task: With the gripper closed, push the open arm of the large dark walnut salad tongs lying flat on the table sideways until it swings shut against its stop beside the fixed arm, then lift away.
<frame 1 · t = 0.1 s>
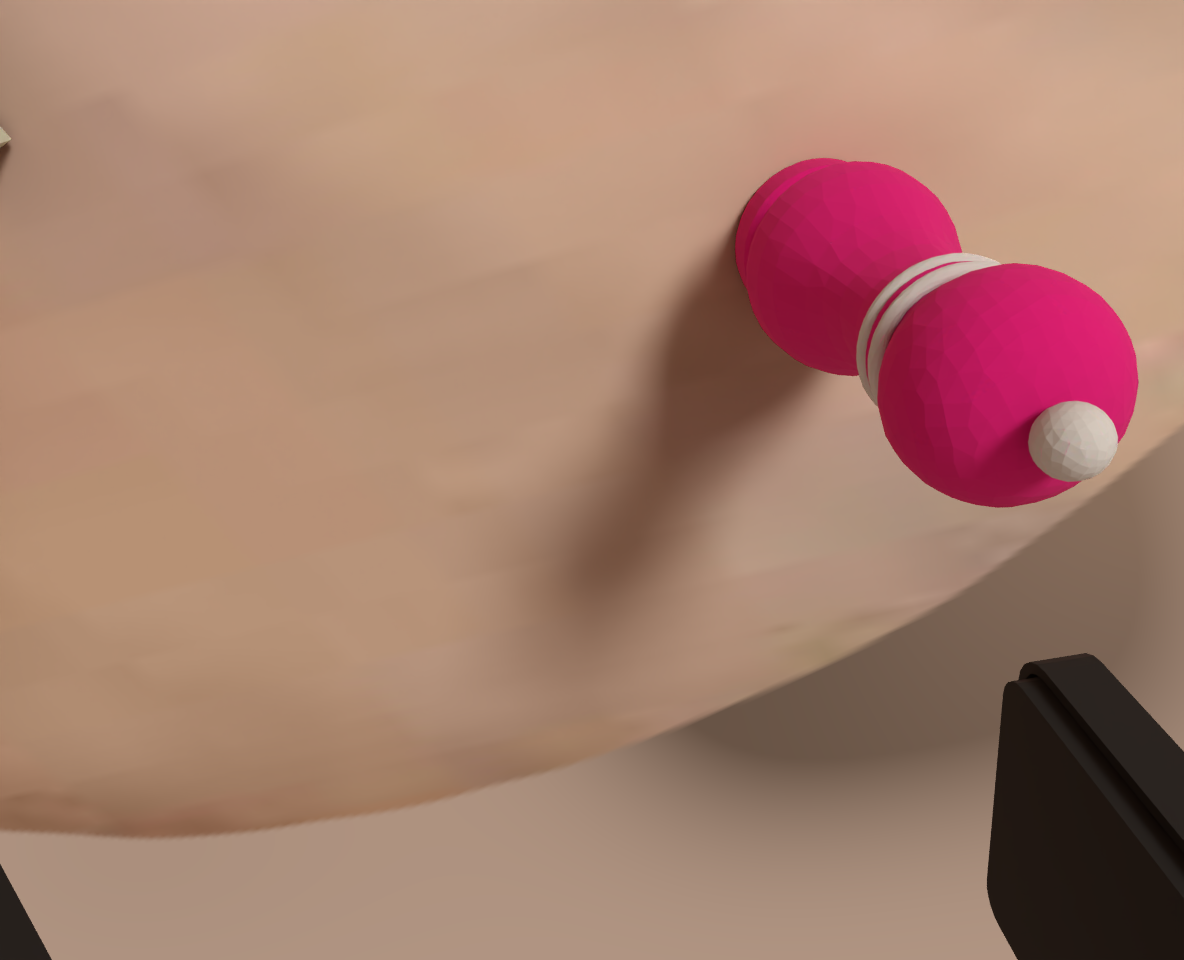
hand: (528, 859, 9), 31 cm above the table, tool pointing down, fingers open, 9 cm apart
pepper mill: (811, 239, 39), on the table
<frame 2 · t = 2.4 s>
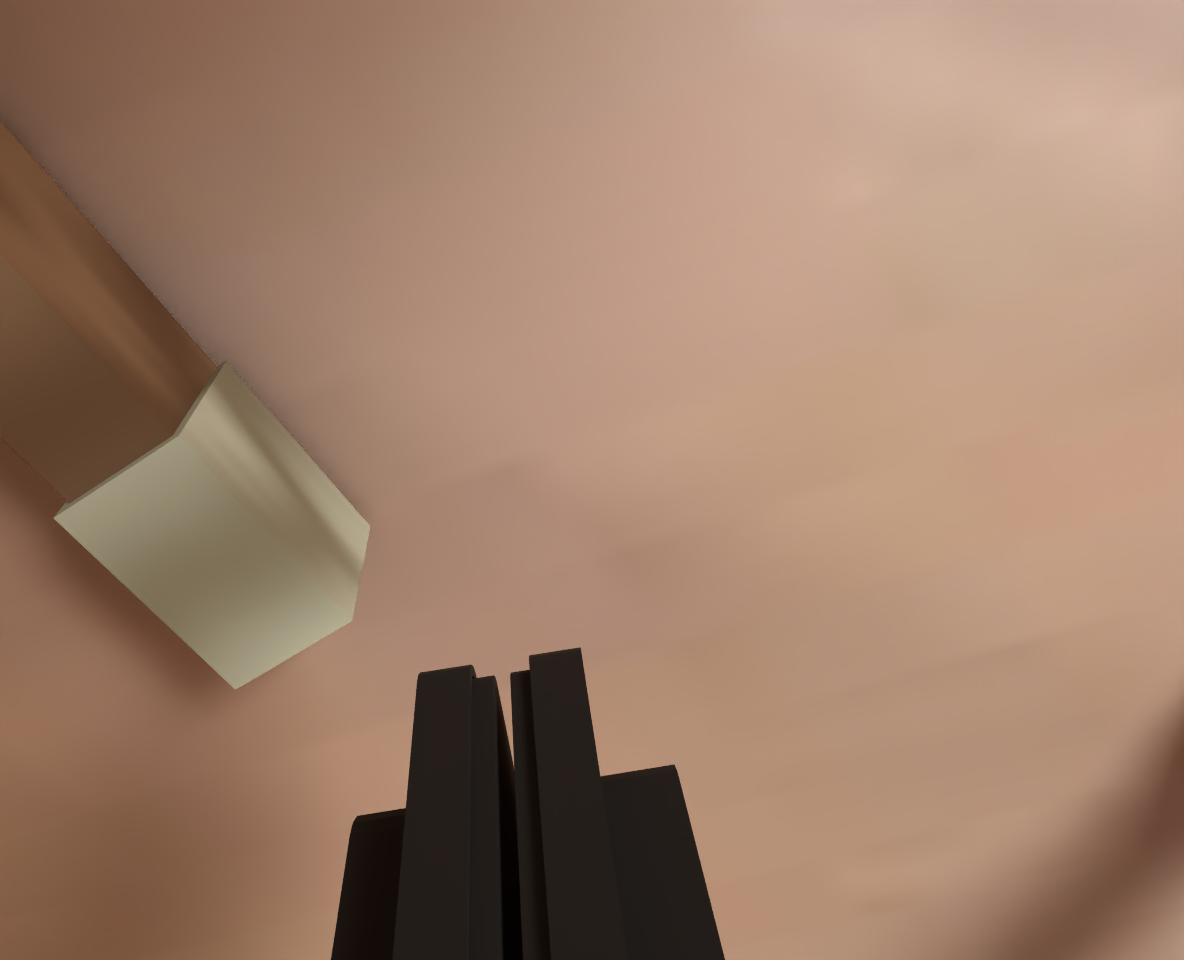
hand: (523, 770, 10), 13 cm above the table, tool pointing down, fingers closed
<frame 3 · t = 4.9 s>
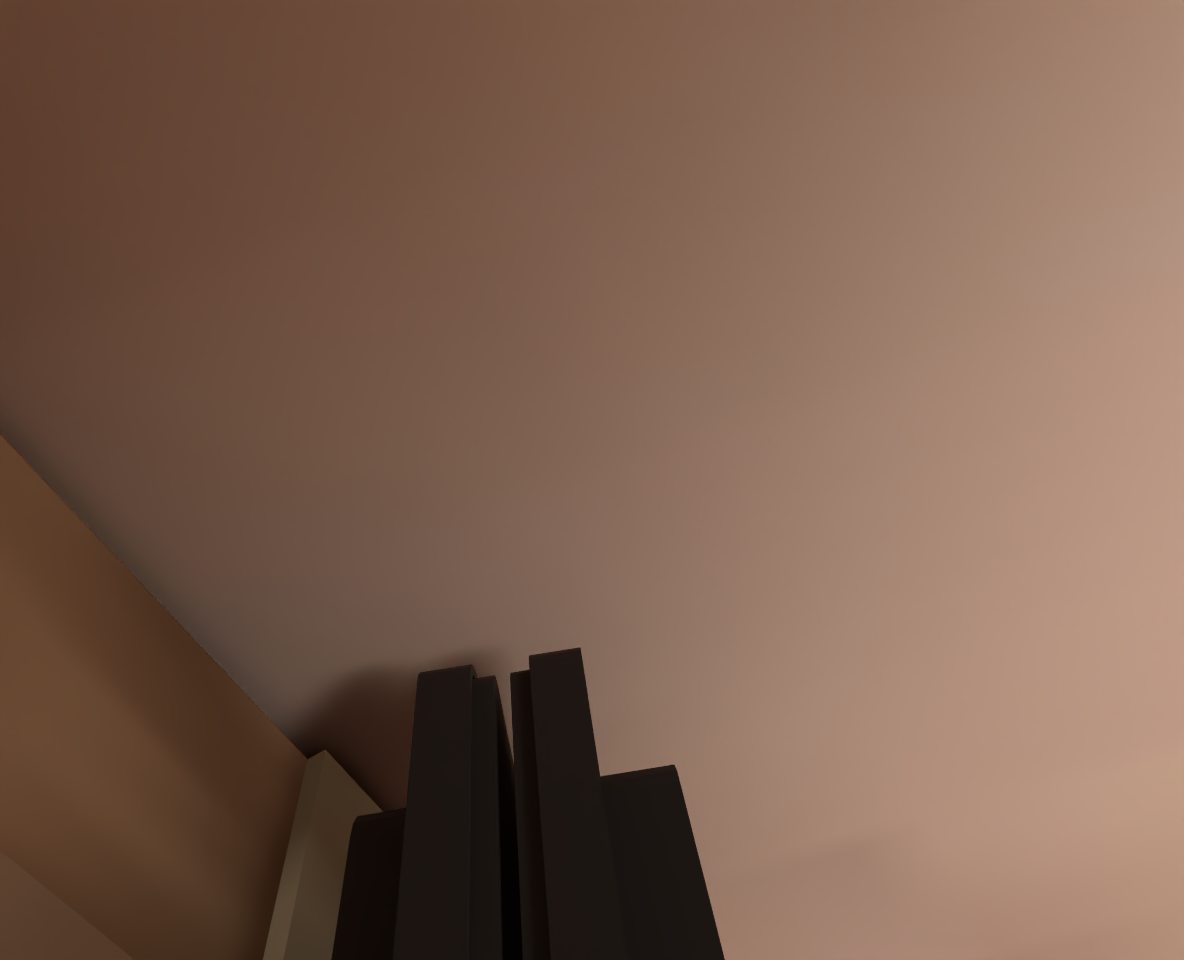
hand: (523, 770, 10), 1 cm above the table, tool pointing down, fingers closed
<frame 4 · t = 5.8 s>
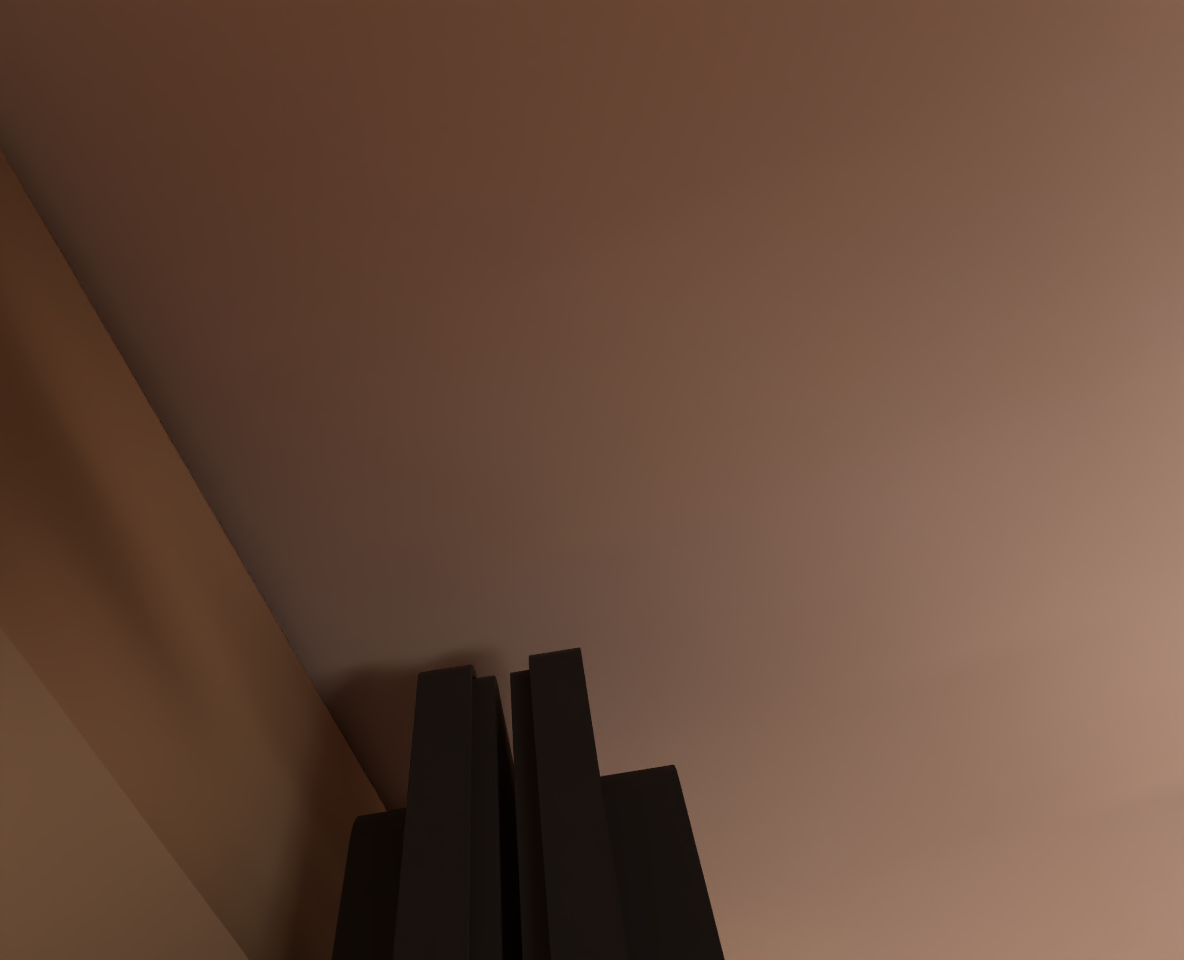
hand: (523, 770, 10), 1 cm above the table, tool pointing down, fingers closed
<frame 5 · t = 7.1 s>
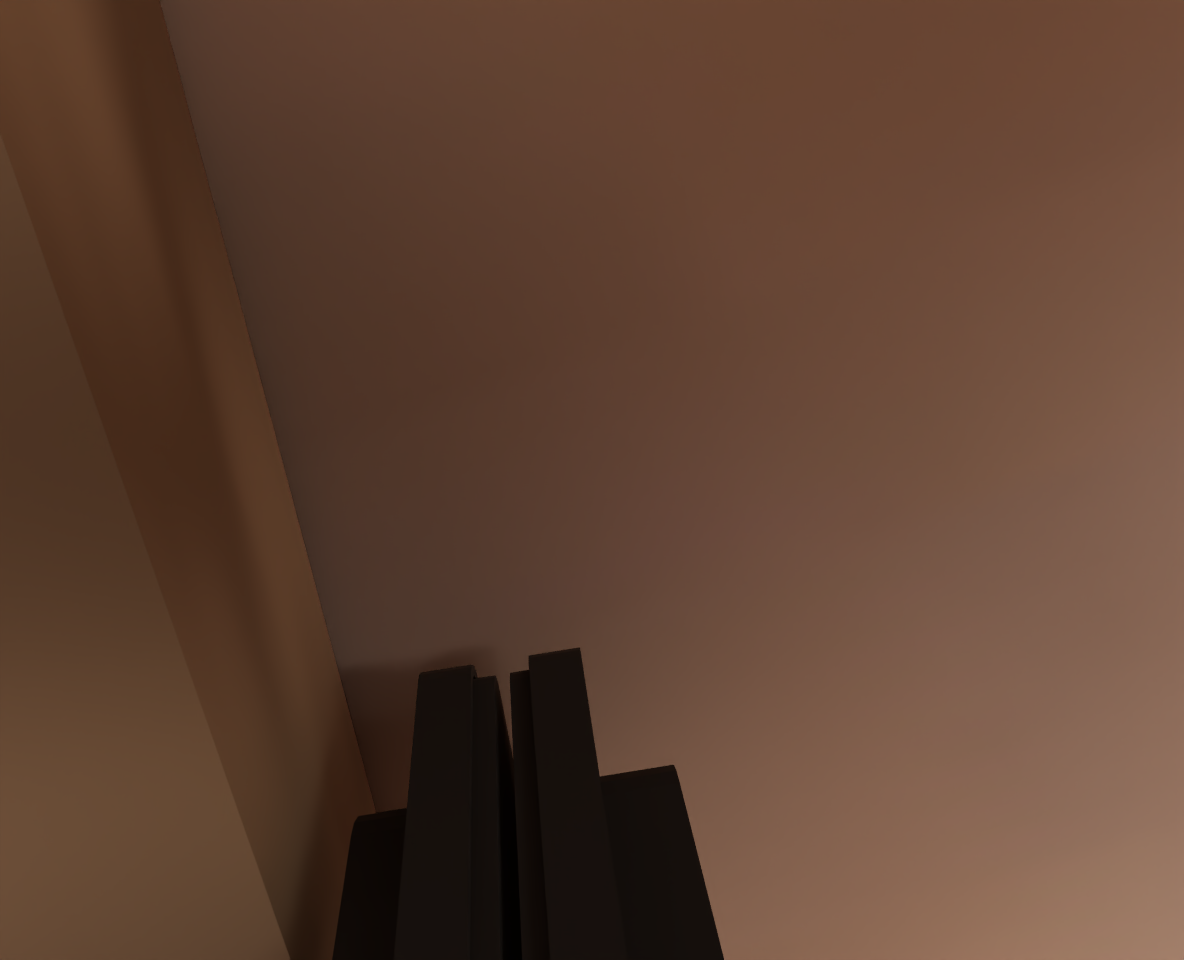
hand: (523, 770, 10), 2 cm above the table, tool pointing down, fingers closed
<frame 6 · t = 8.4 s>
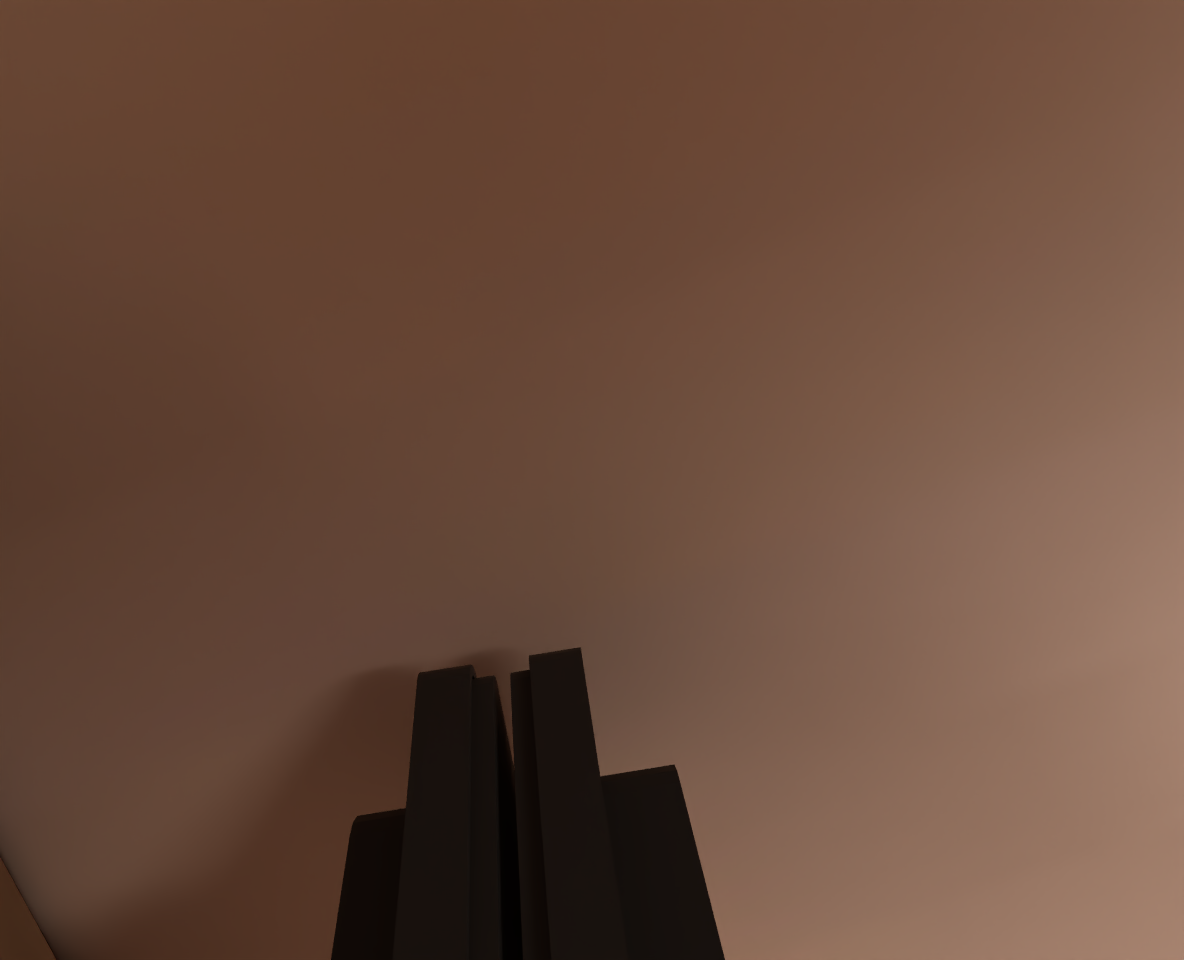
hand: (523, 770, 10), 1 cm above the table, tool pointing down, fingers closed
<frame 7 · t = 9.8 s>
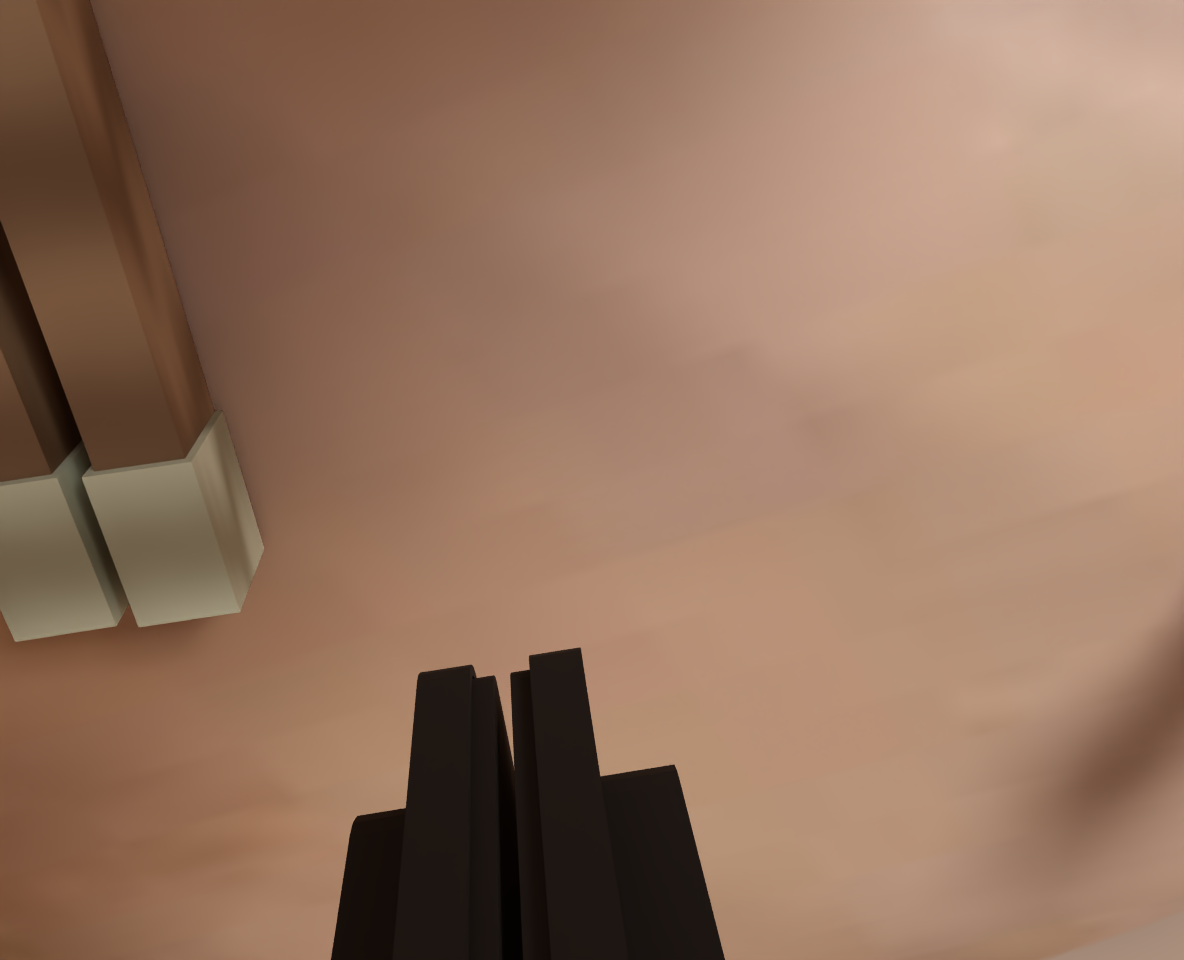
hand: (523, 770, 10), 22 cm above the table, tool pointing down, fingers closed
tongs arm: (60, 159, 26), point 2 cm above the table, hinge at -0.5°
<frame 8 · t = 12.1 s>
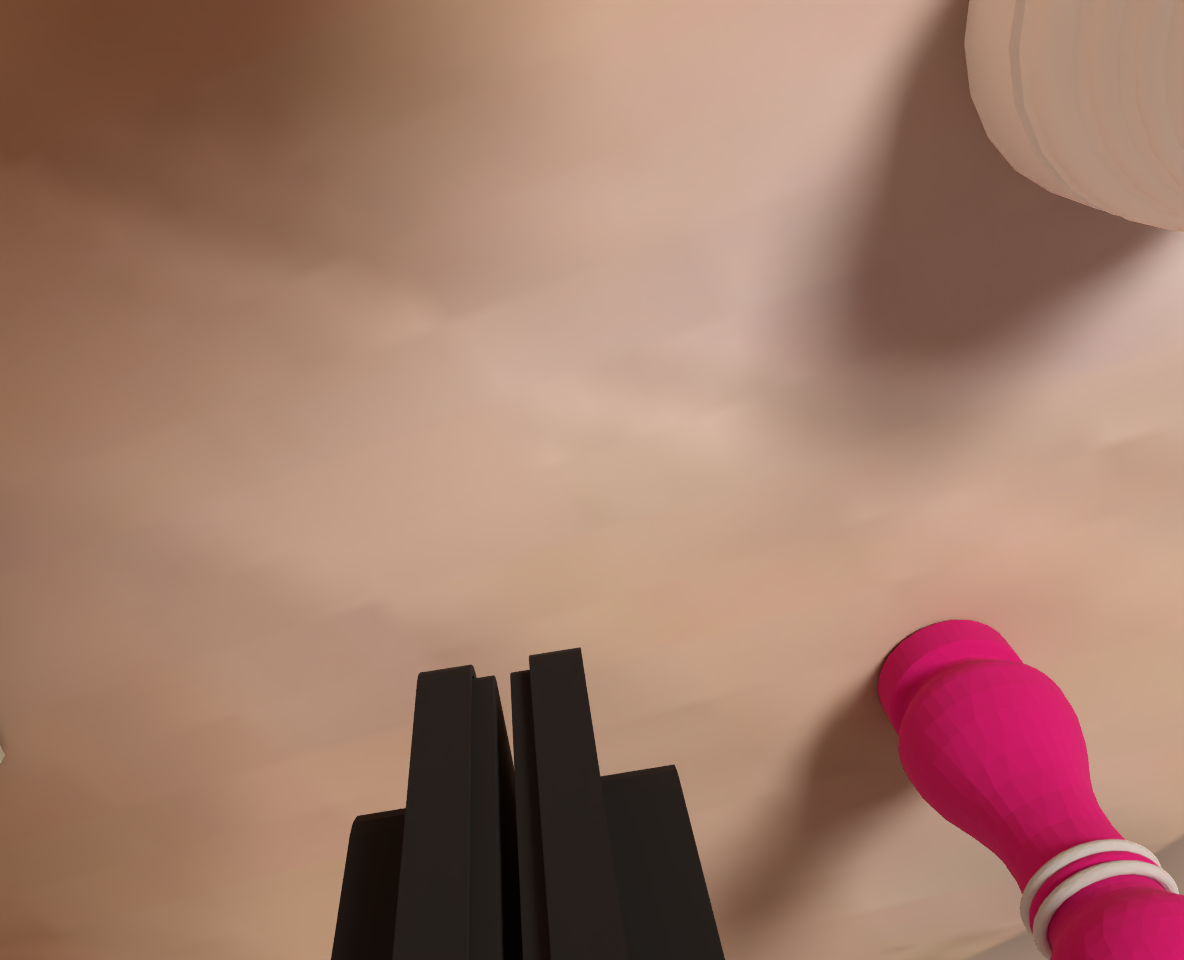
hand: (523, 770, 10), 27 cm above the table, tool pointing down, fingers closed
honey pot: (1146, 8, 34), on the table
pepper mill: (941, 672, 46), on the table
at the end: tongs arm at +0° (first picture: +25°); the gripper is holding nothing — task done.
